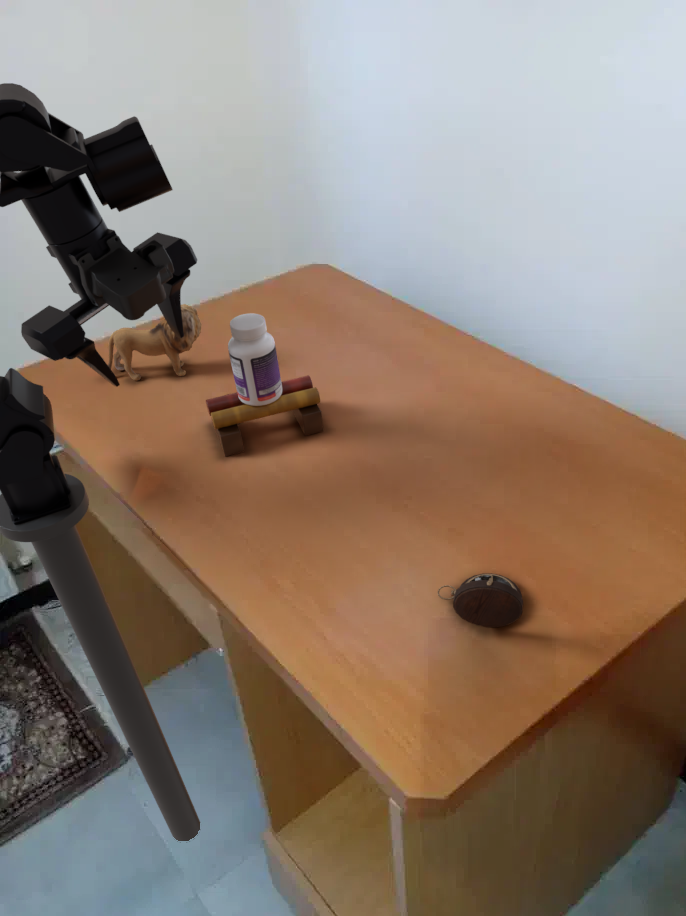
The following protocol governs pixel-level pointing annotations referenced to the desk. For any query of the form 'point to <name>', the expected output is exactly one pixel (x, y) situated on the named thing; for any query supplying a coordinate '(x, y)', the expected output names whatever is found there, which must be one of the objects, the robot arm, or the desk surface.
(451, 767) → the desk surface
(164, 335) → the lion figurine
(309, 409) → the rod rack
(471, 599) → the brown coin purse
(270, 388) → the pill bottle
